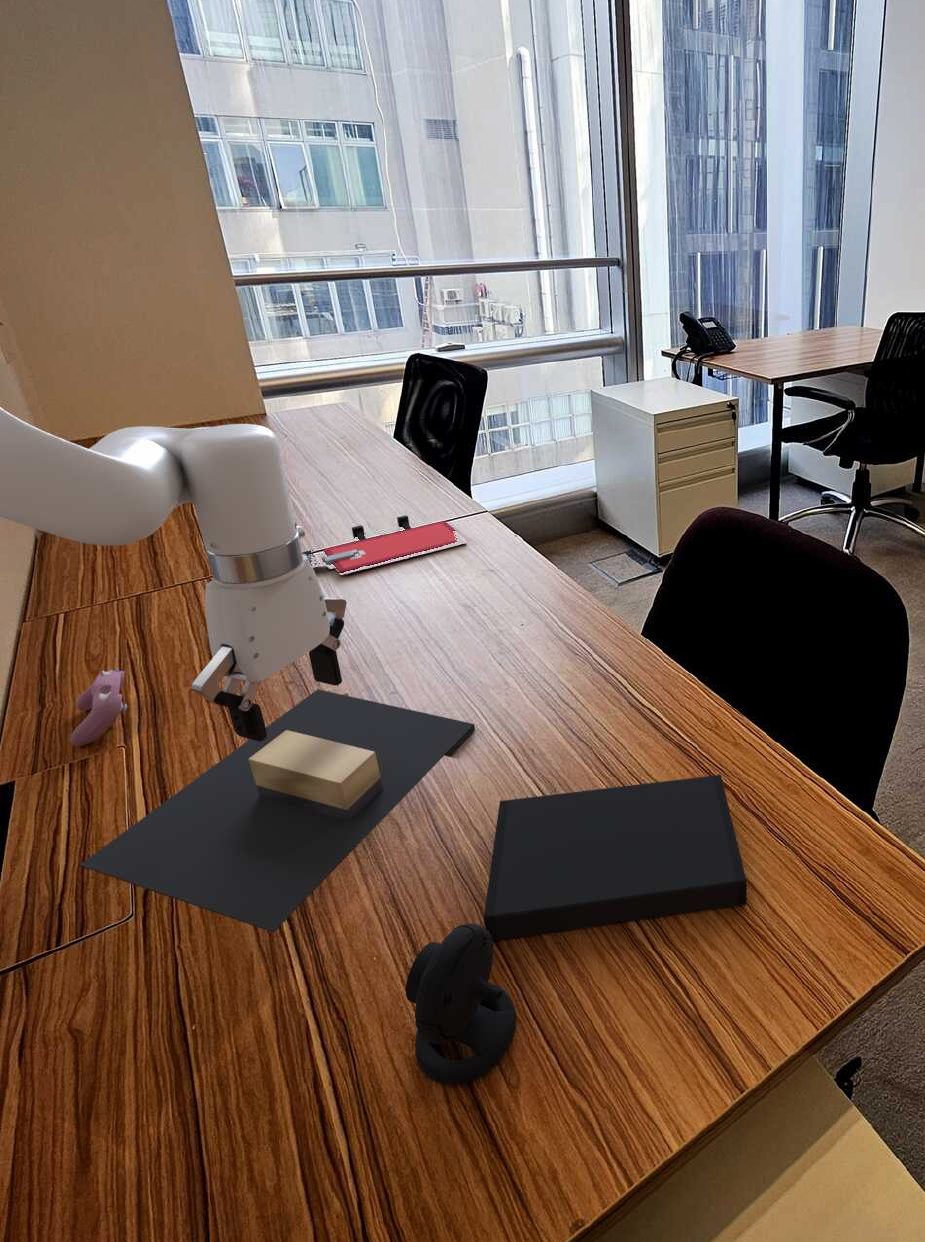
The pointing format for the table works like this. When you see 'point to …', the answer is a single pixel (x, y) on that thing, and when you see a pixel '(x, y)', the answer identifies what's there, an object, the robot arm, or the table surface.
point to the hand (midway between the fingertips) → (292, 708)
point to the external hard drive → (612, 857)
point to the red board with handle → (387, 545)
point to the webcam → (459, 1005)
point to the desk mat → (274, 815)
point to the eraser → (317, 774)
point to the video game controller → (99, 707)
